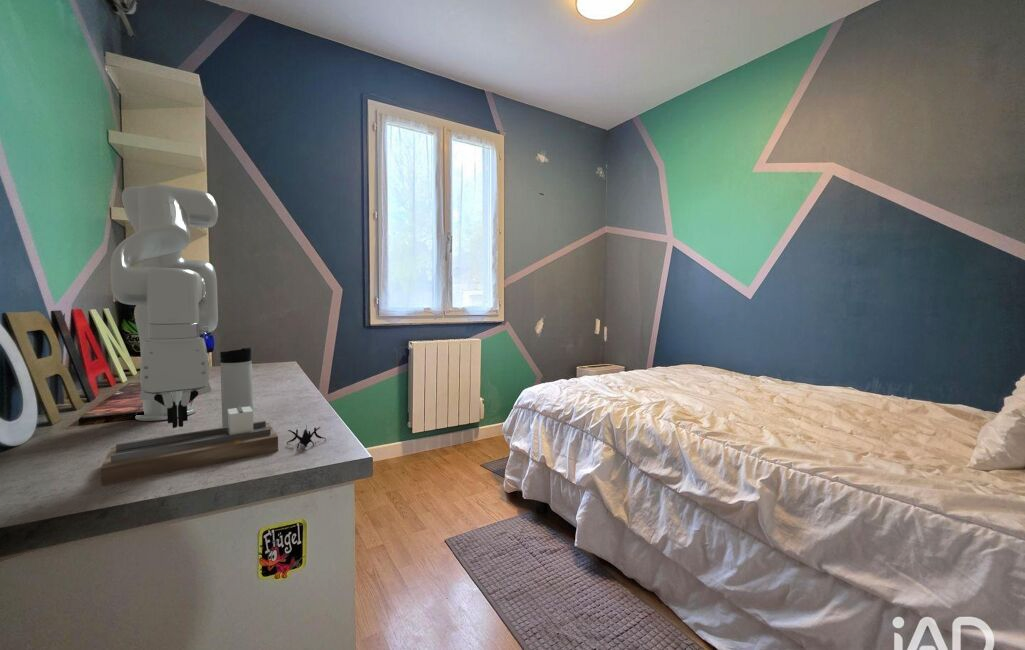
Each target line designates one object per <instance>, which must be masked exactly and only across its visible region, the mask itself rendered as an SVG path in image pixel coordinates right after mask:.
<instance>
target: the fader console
mask: <svg viewBox="0 0 1025 650" xmlns="http://www.w3.org/2000/svg"><path fill="white" fill-rule="evenodd" d="M277 451H278V452H279V436H278V434H277V433H276V432H275V430H274V429H273V427H272V426H271V424H270V422H266V420H261V421H256V422H255V421H253V431H251V432H245V433H239V434H233V435H229V433H228V427H217V428H210V429H204V430H197V431H191V432H184V433H177V434H171V435H164V436H158V437H151V438H146V439H139V440H132V441H126V442H119V443H116V444H115V447H110V449H109V451H108V453H107V454H106V455H107V456H106V457H105V459H104V461H103V463H102V465H101V467H100V482H101V486H108V485H113V484H119V483H123V482H128V481H133V480H137V479H142V478H146V477H153V476H158V475H162V474H167V473H172V472H177V471H183V470H188V469H193V468H198V467H203V466H208V465H212V464H218V463H222V462H223V463H224V462H227V461H233V460H238V459H243V458H248V457H253V456H254V457H255V456H257V455H263V454H268V453H273V452H277Z"/></svg>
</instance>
